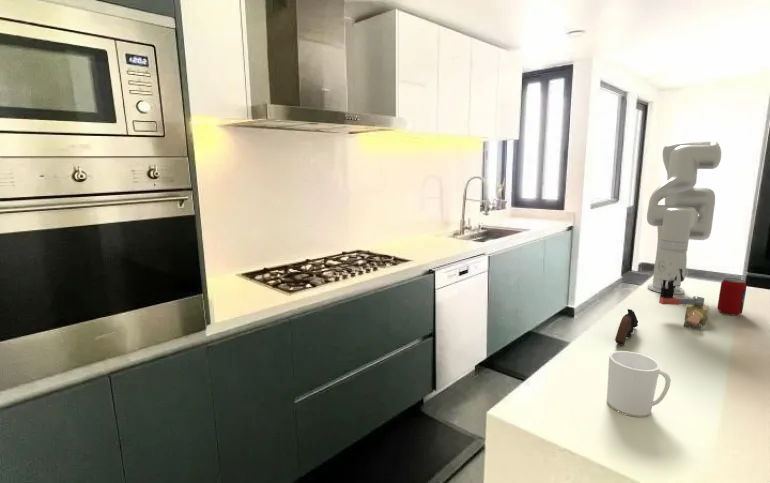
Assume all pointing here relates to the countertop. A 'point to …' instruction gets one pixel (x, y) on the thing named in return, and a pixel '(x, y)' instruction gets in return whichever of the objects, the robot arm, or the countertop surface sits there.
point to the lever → (682, 301)
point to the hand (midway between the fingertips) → (666, 299)
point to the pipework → (695, 316)
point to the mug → (634, 383)
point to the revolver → (626, 327)
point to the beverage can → (732, 296)
